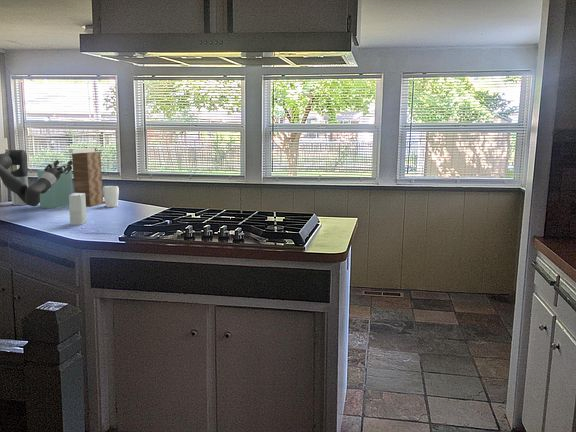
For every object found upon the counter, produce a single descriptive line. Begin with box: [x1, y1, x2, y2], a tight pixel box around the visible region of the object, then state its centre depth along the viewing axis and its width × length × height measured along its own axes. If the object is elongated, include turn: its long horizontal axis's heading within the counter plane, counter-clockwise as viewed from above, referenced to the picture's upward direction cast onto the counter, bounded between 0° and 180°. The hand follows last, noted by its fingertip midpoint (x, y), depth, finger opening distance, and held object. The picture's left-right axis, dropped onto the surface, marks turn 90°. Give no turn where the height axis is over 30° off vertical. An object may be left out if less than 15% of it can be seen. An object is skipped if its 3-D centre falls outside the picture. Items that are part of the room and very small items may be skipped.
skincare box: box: [68, 192, 87, 226], centre depth 257 cm, size 8×6×15 cm
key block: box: [36, 167, 74, 209], centre depth 314 cm, size 18×10×22 cm, turn 167°
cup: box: [102, 185, 120, 208], centre depth 314 cm, size 9×9×12 cm
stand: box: [71, 151, 106, 208], centre depth 319 cm, size 16×12×32 cm
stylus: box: [68, 147, 97, 155], centre depth 313 cm, size 24×2×2 cm, turn 167°
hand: (64, 161), depth 296 cm, fingers open, 8 cm apart
